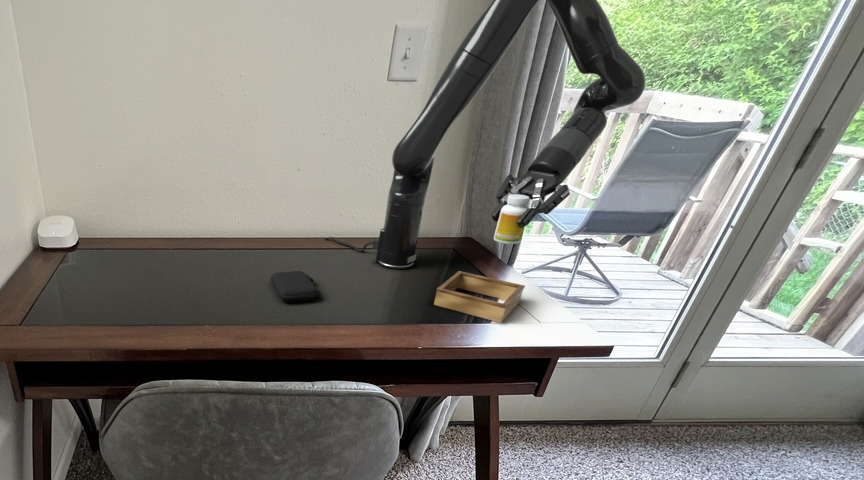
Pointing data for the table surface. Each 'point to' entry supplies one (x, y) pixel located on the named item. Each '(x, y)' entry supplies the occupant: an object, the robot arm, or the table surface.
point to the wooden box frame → (475, 304)
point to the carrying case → (294, 286)
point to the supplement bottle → (511, 220)
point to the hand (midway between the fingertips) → (506, 222)
